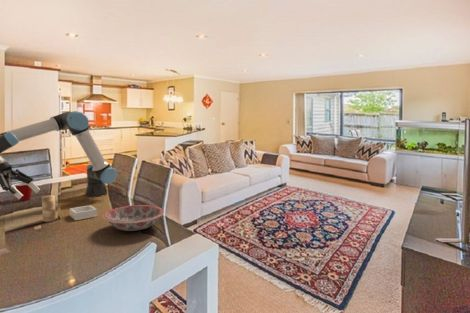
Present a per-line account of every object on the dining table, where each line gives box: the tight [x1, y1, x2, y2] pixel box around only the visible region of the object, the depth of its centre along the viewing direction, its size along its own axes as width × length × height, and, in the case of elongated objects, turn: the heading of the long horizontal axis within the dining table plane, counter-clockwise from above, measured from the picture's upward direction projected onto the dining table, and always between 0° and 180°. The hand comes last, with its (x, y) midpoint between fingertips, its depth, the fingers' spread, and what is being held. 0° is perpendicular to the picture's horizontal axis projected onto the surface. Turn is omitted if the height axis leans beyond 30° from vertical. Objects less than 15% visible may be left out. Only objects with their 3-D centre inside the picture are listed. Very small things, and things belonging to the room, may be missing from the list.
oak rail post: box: [41, 194, 57, 223], centre depth 156 cm, size 6×6×13 cm
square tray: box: [69, 204, 98, 221], centre depth 164 cm, size 11×11×4 cm
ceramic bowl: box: [103, 204, 165, 232], centre depth 147 cm, size 29×29×8 cm
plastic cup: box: [13, 181, 33, 202], centre depth 195 cm, size 11×11×12 cm
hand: (30, 194), depth 154 cm, fingers open, 13 cm apart
